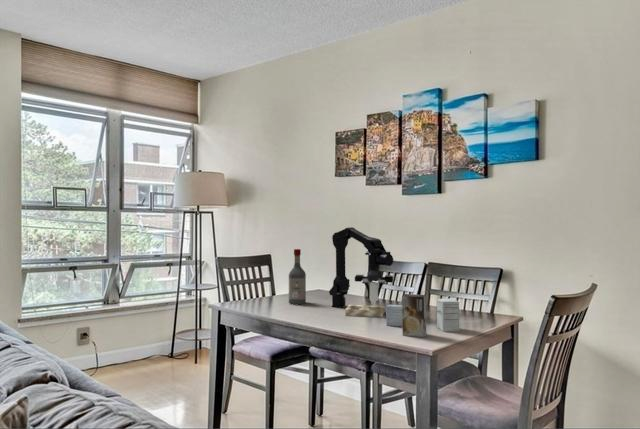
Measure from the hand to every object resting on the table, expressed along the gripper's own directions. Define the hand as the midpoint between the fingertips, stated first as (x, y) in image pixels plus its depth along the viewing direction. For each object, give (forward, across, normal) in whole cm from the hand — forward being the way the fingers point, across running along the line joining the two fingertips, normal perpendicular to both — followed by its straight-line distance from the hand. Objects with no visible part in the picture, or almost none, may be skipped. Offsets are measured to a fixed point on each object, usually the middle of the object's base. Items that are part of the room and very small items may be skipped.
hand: (374, 296), depth 237 cm
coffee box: (+9, +20, -39) cm, 45 cm away
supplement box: (+9, +34, -27) cm, 44 cm away
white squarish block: (+2, 0, 0) cm, 2 cm away
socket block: (+9, -4, 0) cm, 10 cm away
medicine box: (+9, +12, -23) cm, 27 cm away
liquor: (+9, -44, +22) cm, 50 cm away
